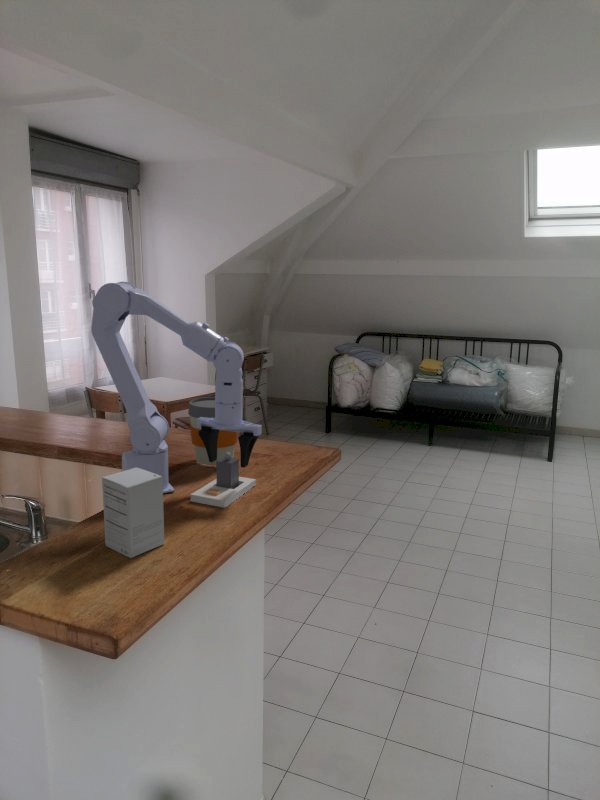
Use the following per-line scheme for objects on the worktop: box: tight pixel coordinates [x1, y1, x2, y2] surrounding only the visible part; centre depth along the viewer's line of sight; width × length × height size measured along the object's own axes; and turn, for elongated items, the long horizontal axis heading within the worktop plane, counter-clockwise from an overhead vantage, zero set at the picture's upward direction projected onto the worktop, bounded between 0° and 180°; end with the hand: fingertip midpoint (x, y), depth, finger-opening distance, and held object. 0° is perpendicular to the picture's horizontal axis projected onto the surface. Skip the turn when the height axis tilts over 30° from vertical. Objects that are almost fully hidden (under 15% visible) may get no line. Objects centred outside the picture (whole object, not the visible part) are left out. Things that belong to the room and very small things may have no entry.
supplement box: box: [101, 467, 165, 559], centre depth 107 cm, size 7×7×13 cm
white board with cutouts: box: [189, 476, 257, 509], centre depth 133 cm, size 14×8×2 cm, turn 158°
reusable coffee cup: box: [188, 396, 239, 465], centre depth 153 cm, size 13×13×15 cm
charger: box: [215, 452, 240, 489], centre depth 134 cm, size 4×4×8 cm
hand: (228, 463), depth 134 cm, fingers open, 7 cm apart
